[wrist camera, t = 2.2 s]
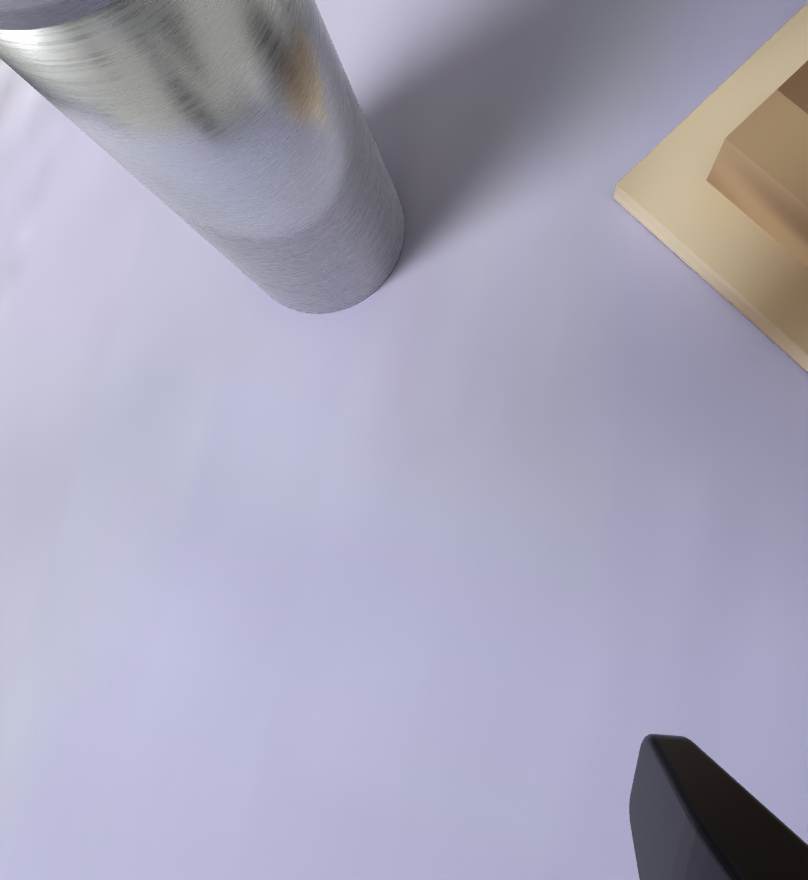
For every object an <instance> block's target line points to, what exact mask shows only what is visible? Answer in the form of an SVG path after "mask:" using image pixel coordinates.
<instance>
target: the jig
mask: <svg viewBox="0 0 808 880" xmlns="http://www.w3.org/2000/svg"><path fill="white" fill-rule="evenodd" d="M614 199H615V200H616V201H617V202H618V203H619V204H620V205H622V206H623V207H624V208H625V209H626V210H627V211H628V212H629V213H631V214H632V215H633V216H634V217H635V218H636V219H637V220H638V221H639V222H641V223H642V224H643V225H644V226H645V227H646V228H647V229H648V230H650V231H651V232H652V233H653V234H654V235H655V236H656V237H657V238H658V239H660V240H661V241H662V242H663V243H664V244H665V245H666V246H667V247H669V248H670V249H671V250H672V251H673V252H674V253H675V254H676V255H677V256H679V257H680V258H681V259H682V260H683V261H684V262H685V263H686V264H687V265H689V266H690V267H691V268H692V269H693V270H694V271H695V272H696V273H698V274H699V275H700V276H701V277H702V278H703V279H704V280H705V281H706V282H708V283H709V284H710V285H711V286H712V287H713V288H714V289H715V290H717V291H718V292H719V293H720V294H721V295H722V296H723V297H724V298H725V299H727V300H728V301H729V302H730V303H731V304H732V305H733V306H734V307H736V308H737V309H738V310H739V311H740V312H741V313H742V314H743V315H744V316H746V317H747V318H748V319H749V320H750V321H751V322H752V323H753V324H754V325H756V326H757V327H758V328H759V329H760V330H761V331H762V332H763V333H765V334H766V335H767V336H768V337H769V338H770V339H771V340H772V341H773V342H775V343H776V344H777V345H778V346H779V347H780V348H781V349H782V350H784V351H785V352H786V353H787V354H788V355H789V356H790V357H791V358H792V359H794V360H795V361H796V362H797V363H798V364H799V365H800V366H801V367H803V368H804V369H805V370H806V371H807V372H808V3H807V4H806V5H805V6H804V7H803V8H802V9H801V10H799V11H798V12H797V13H796V14H795V15H794V16H793V17H792V18H791V19H790V20H789V21H788V22H787V23H786V24H785V25H784V26H783V27H782V28H780V29H779V30H778V31H777V32H776V33H775V34H774V35H773V36H772V37H771V38H770V39H769V40H768V41H767V42H766V43H765V44H764V45H763V46H761V47H760V48H759V49H758V50H757V51H756V52H755V53H754V54H753V55H752V56H751V57H750V58H749V59H748V60H747V61H746V62H745V63H744V64H742V65H741V66H740V67H739V68H738V69H737V70H736V71H735V72H734V73H733V74H732V75H731V76H730V77H729V78H728V79H727V80H726V81H725V82H723V83H722V84H721V85H720V86H719V87H718V88H717V89H716V90H715V91H714V92H713V93H712V94H711V95H710V96H709V97H708V98H707V99H706V100H704V101H703V102H702V103H701V104H700V105H699V106H698V107H697V108H696V109H695V110H694V111H693V112H692V113H691V114H690V115H689V116H688V117H687V118H685V119H684V120H683V121H682V122H681V123H680V124H679V125H678V126H677V127H676V128H675V129H674V130H673V131H672V132H671V133H670V134H669V135H668V136H666V137H665V138H664V139H663V140H662V141H661V142H660V143H659V144H658V145H657V146H656V147H655V148H654V149H653V150H652V151H651V152H650V153H649V154H647V155H646V156H645V157H644V158H643V159H642V160H641V161H640V162H639V163H638V164H637V165H636V166H635V167H634V168H633V169H632V170H631V171H630V172H628V173H627V174H626V175H625V176H624V177H623V178H622V179H621V180H620V181H619V182H618V183H617V184H616V188H615V193H614Z"/></svg>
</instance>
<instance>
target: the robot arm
mask: <svg viewBox="0 0 808 880" xmlns="http://www.w3.org/2000/svg"><path fill="white" fill-rule="evenodd" d="M629 814H630V824H631V830H632V836H633V842H634V848H635V854H636V860H637V866H638V872H639V878H640V880H808V845H807V844H806V843H805V842H804V841H803V840H802V839H801V838H800V837H798V836H797V835H796V834H795V833H794V832H793V831H792V830H791V829H789V828H788V827H787V826H786V825H785V824H784V823H783V822H782V821H781V820H779V819H778V818H777V817H776V816H775V815H774V814H773V813H772V812H770V811H769V810H768V809H767V808H766V807H765V806H764V805H763V804H762V803H760V802H759V801H758V800H757V799H756V798H755V797H754V796H753V795H751V794H750V793H749V792H748V791H747V790H746V789H745V788H744V787H743V786H741V785H740V784H739V783H738V782H737V781H736V780H735V779H734V778H733V777H731V776H730V775H729V774H728V773H727V772H726V771H725V770H724V769H722V768H721V767H720V766H719V765H718V764H717V763H716V762H715V761H714V760H712V759H711V758H710V757H709V756H708V755H707V754H706V753H705V752H703V751H702V750H701V749H700V748H699V747H698V746H697V745H696V744H695V743H693V742H692V741H691V740H689V739H688V738H686V737H682V736H673V735H660V734H649V735H648V736H646V737H645V738H644V740H643V742H642V743H641V747H640V751H639V756H638V761H637V766H636V771H635V775H634V780H633V785H632V790H631V795H630V803H629Z"/></svg>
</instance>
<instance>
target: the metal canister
mask: <svg viewBox="0 0 808 880" xmlns="http://www.w3.org/2000/svg"><path fill="white" fill-rule="evenodd" d="M0 59H2V60H3V61H4V62H5V63H6V64H7V65H8V66H10V67H11V68H12V69H13V70H14V71H15V72H16V73H17V74H19V75H20V76H21V77H22V78H23V79H24V80H25V81H27V82H28V83H29V84H30V85H31V86H32V87H33V88H34V89H36V90H37V91H38V92H39V93H40V94H41V95H42V96H44V97H45V98H46V99H47V100H48V101H49V102H50V103H51V104H53V105H54V106H55V107H56V108H57V109H58V110H59V111H61V112H62V113H63V114H64V115H65V116H66V117H67V118H68V119H70V120H71V121H72V122H73V123H74V124H75V125H76V126H78V127H79V128H80V129H81V130H82V131H83V132H84V133H85V134H87V135H88V136H89V137H90V138H91V139H92V140H93V141H95V142H96V143H97V144H98V145H99V146H100V147H101V148H102V149H104V150H105V151H106V152H107V153H108V154H109V155H110V156H112V157H113V158H114V159H115V160H116V161H117V162H118V163H119V164H121V165H122V166H123V167H124V168H125V169H126V170H127V171H129V172H130V173H131V174H132V175H133V176H134V177H135V178H136V179H138V180H139V181H140V182H141V183H142V184H143V185H144V186H146V187H147V188H148V189H149V190H150V191H151V192H152V193H153V194H155V195H156V196H157V197H158V198H159V199H160V200H161V201H163V202H164V203H165V204H166V205H167V206H168V207H169V208H170V209H172V210H173V211H174V212H175V213H176V214H177V215H178V216H180V217H181V218H182V219H183V220H184V221H185V222H186V223H187V224H189V225H190V226H191V227H192V228H193V229H194V230H195V231H197V232H198V233H199V234H200V235H201V236H202V237H203V238H204V239H206V240H207V241H208V242H209V243H210V244H211V245H212V246H214V247H215V248H216V249H217V250H218V251H219V252H220V253H221V254H223V255H224V256H225V257H226V258H227V259H228V260H229V261H231V262H232V263H233V264H234V265H235V266H236V267H237V268H238V269H240V270H241V271H242V272H243V273H244V274H245V275H246V276H248V277H249V278H250V279H251V280H252V281H253V282H254V283H255V284H257V285H258V286H259V287H260V288H261V289H262V290H263V291H265V292H266V293H267V294H268V295H269V296H270V297H271V298H273V299H274V300H276V301H277V302H278V303H280V304H282V305H284V306H286V307H288V308H291V309H294V310H296V311H300V312H306V313H317V314H320V313H331V312H336V311H340V310H343V309H346V308H349V307H351V306H353V305H355V304H357V303H359V302H361V301H363V300H364V299H366V298H367V297H369V296H370V295H371V294H372V293H374V292H375V291H376V290H377V289H378V288H379V287H380V286H381V285H382V284H383V283H384V282H385V281H386V279H387V278H388V276H389V275H390V274H391V272H392V270H393V269H394V267H395V265H396V263H397V261H398V258H399V256H400V253H401V250H402V246H403V242H404V234H405V219H404V213H403V208H402V205H401V202H400V199H399V196H398V194H397V192H396V189H395V187H394V185H393V182H392V180H391V178H390V175H389V173H388V171H387V169H386V166H385V164H384V162H383V159H382V157H381V155H380V152H379V150H378V148H377V145H376V143H375V141H374V138H373V136H372V134H371V131H370V129H369V127H368V124H367V122H366V120H365V117H364V115H363V113H362V110H361V108H360V106H359V103H358V101H357V99H356V96H355V94H354V92H353V89H352V87H351V85H350V82H349V80H348V78H347V75H346V73H345V71H344V68H343V66H342V64H341V61H340V59H339V57H338V54H337V52H336V50H335V47H334V45H333V43H332V40H331V38H330V36H329V33H328V31H327V29H326V26H325V24H324V22H323V19H322V17H321V15H320V12H319V10H318V8H317V5H316V3H315V1H314V0H0Z"/></svg>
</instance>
